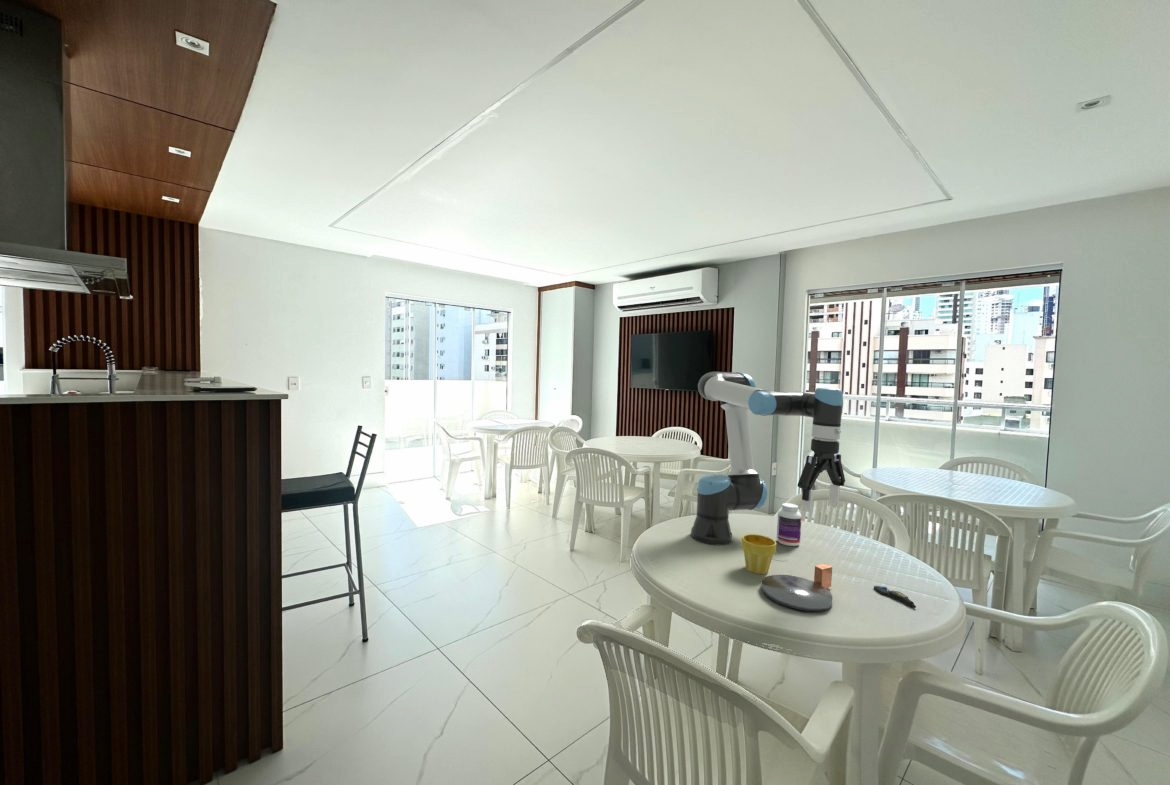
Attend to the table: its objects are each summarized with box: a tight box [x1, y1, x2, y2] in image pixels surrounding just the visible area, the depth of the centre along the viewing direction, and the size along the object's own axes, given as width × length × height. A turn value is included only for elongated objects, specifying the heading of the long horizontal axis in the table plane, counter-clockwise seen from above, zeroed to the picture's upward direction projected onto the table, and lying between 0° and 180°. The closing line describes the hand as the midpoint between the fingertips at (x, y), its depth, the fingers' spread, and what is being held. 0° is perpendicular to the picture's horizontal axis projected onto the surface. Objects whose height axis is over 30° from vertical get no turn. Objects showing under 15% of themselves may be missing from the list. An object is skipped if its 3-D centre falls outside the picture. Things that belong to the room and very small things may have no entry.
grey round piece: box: [761, 563, 833, 612], centre depth 127 cm, size 18×23×6 cm
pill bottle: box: [776, 502, 802, 547], centre depth 167 cm, size 8×8×14 cm
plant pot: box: [740, 533, 777, 575], centre depth 143 cm, size 10×10×10 cm
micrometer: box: [873, 585, 917, 609], centre depth 127 cm, size 12×2×5 cm
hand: (820, 508), depth 136 cm, fingers open, 13 cm apart
